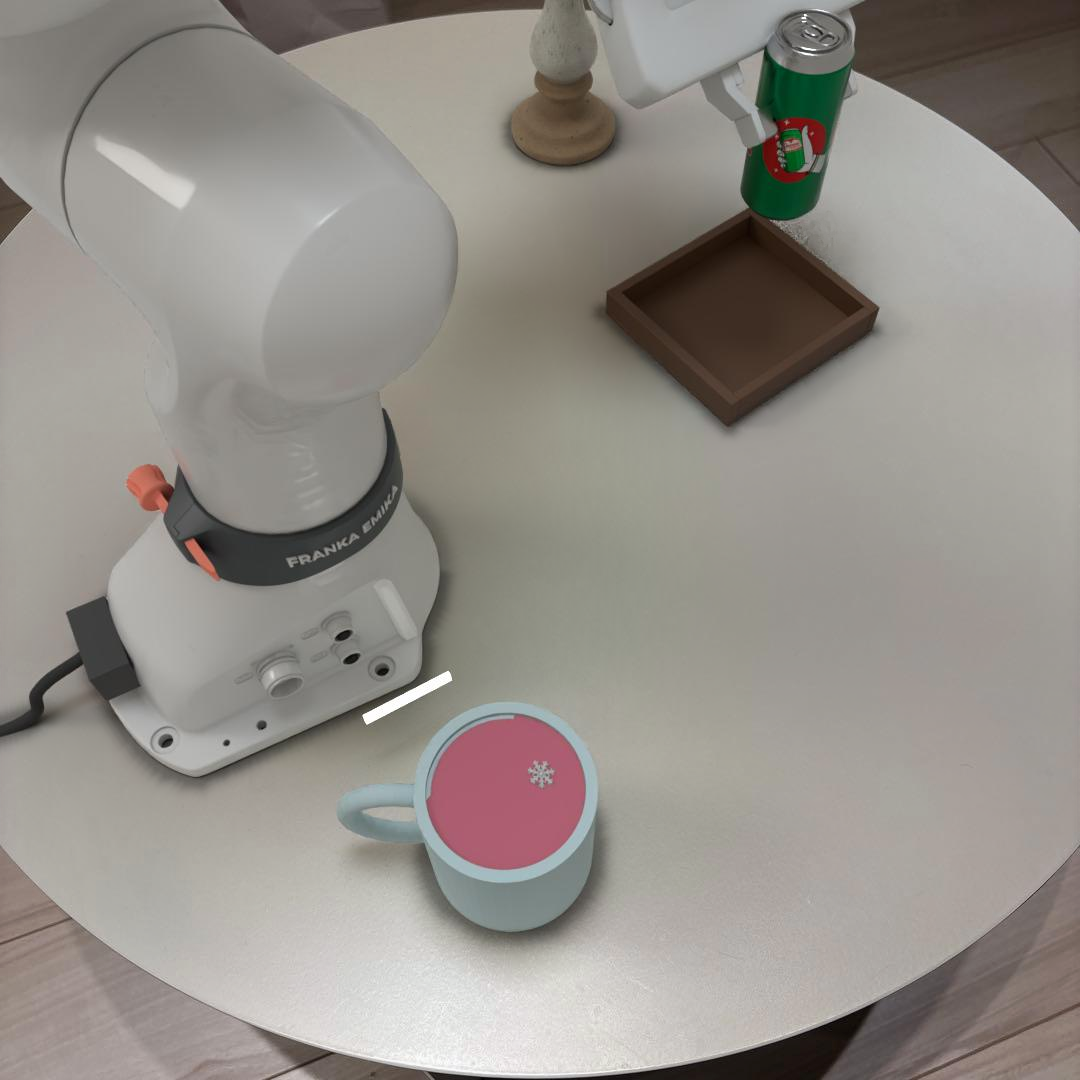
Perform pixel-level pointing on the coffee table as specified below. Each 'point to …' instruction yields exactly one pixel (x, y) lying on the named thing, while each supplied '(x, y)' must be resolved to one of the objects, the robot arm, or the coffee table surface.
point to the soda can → (798, 112)
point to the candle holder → (563, 90)
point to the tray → (740, 313)
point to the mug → (496, 814)
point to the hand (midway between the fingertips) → (803, 120)
